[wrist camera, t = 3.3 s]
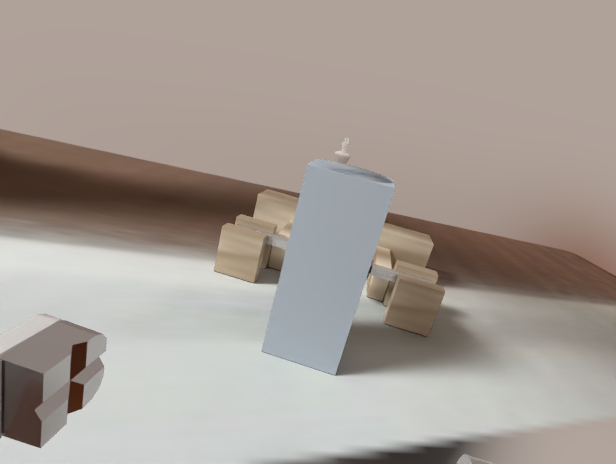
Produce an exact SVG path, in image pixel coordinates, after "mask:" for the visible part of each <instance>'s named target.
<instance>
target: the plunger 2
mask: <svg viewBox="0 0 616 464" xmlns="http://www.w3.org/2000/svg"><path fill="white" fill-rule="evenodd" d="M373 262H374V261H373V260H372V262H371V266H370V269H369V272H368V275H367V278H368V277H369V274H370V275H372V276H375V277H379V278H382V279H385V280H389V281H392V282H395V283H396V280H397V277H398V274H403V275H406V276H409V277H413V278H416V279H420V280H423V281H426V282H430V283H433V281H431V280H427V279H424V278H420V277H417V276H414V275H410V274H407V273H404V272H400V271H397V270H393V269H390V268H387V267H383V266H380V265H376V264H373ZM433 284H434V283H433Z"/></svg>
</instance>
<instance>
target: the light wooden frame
mask: <svg viewBox="0 0 616 464" xmlns="http://www.w3.org/2000/svg"><path fill="white" fill-rule="evenodd" d="M298 200H299V198H296V197H293V196H289V195H286V194H282V193H279V192H275V191H272V190H268V189H267V190H265V191H263V192H261V193H260V194H258V197H257V202H256V207H255V211H254V216H253V217H249V216H246V215H242V214H240V215H239V216H237V217H236V222H235V225H234V224H230V223H226V224H225V225H223V226H222V230H221V235H220V241H219V246H218V251H217V257H216V262H215V267H214V271H217V272H220V273H223V274H226V275H230V276H233V277H236V278H239V279H242V280H246V281H249V282H252V283H254V282H255V281H256V279H257V278H258V275H259V271H260V268H263V269H265V268H266V267H267V265H268V263H269V265H268V267H271V268H274V269H278V270H281V269H282V265H283V261H284V257H285V253H286V250H285V249H282V248H279V247H275V246H273V248H272V245H269V244H266V240H267V235H268V234H264V233H261V232H257V231H254V230H251V229H247V228H244V227H240V226H237V224H241V225H245V226H248V227H252V228H255V229H258V230H262V231H265V232H269V233H272V234H275V235H279V236H282V237H286V238H289V237H290V233H291V229H292V225H293V221H294V217H295V212H296V208H297V204H298ZM433 245H434V244H433V242H432V240H431V238H430V236H429V235H427V234H423V233H420V232H416V231H413V230H409V229H406V228H402V227H398V226H395V225H391V224H388V223H384V225H383V228H382V231H381V234H380V238H379V241H378V244H377V247H376V250H375V253H374V256H373V259H372V260H373V261H374V262H373V264H376V265H380V266H383V267H387V268H390V269H393V270H397V271H400V272H404V273H407V274H410V275H414V276H417V277H420V278H424V279H427V280H431V281H433V283H434V284H433V283H430V282H426V281H423V280H420V279H416V278H413V277H409V276H406V275H403V274H398V277H397V280H396V283H395V282H392V281H389V280H385V279H382V278H379V277H375V276H372V275H370V274H369V277H368V286H367V297H370V298H373V299H376V300H380V301H382V300H383V305H385V306H387V309H386V312H385V315H384V323H385V324H388V325H391V326H394V327H398V328H401V329H404V330H407V331H410V332H414V333H417V334H420V335H423V336H427V337H428V334H429V332H430V329H431V327H432V324H433V322H434V319H435V317H436V314H437V312H438V309H439V307H440V304H441V302H442V299H443V296H444V294H445V291H444V289H443V286H440V285H437V284H436V282H437V279H438V274H437V271H434V270H430V269H427V268H425V267H426V264H427V262H428V259H429V256H430V253H431V251H432V248H433ZM271 251H272V252H271ZM270 255H271V256H270ZM269 259H270V260H269ZM388 282H389V284H388ZM387 285H388V287H387ZM386 288H387V290H386ZM385 291H386V293H385ZM384 294H385V296H384ZM383 297H384V299H383Z"/></svg>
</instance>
